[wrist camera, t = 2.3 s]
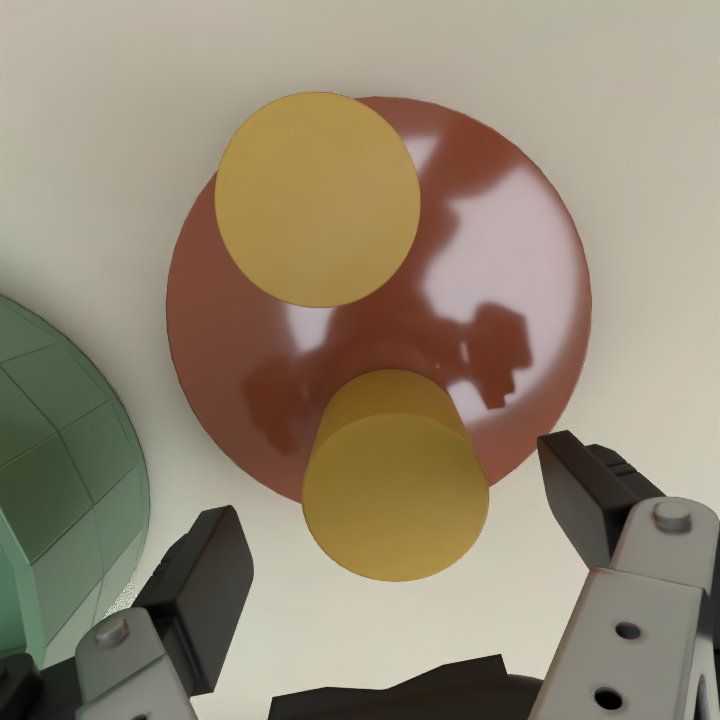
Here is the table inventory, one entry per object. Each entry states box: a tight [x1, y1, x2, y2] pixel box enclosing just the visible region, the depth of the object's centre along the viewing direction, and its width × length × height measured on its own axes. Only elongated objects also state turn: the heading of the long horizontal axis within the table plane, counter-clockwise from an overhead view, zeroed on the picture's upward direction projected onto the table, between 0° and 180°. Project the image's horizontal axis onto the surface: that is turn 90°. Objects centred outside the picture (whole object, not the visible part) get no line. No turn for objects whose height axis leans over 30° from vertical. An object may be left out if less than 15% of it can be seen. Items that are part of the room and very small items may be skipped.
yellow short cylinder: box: [301, 369, 489, 582], centre depth 14 cm, size 5×5×4 cm
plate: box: [166, 96, 592, 504], centre depth 16 cm, size 13×13×1 cm
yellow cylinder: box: [215, 92, 421, 308], centre depth 12 cm, size 4×4×4 cm
